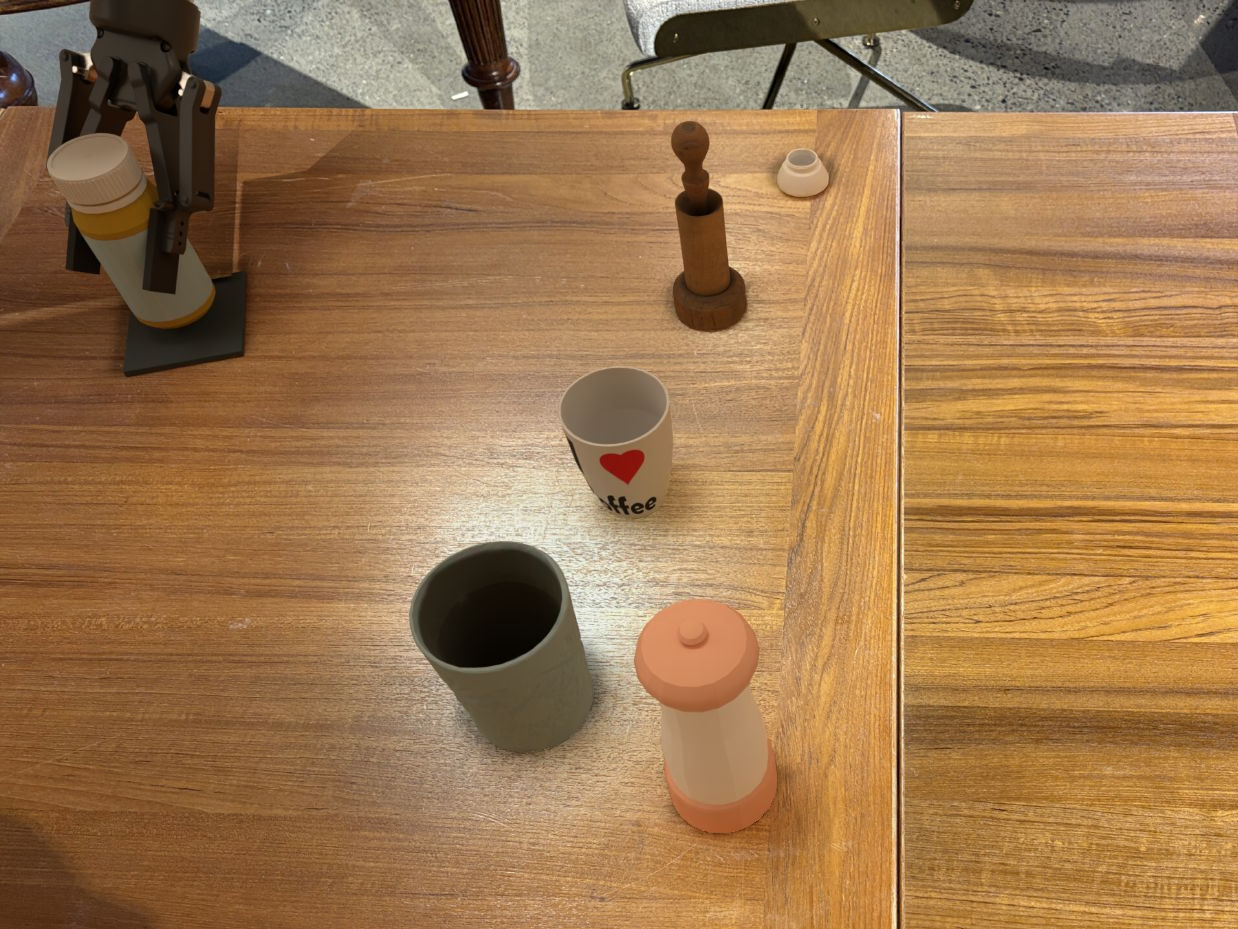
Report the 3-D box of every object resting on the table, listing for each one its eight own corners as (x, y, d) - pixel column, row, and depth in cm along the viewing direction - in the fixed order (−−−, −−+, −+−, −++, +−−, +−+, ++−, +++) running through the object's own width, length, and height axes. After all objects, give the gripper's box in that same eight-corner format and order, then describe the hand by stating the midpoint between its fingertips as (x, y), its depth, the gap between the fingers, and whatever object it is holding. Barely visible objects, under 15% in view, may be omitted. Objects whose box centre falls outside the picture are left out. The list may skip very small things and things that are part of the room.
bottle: (141, 342, 103) (43, 193, 91) (133, 292, 107) (37, 143, 94) (223, 318, 105) (138, 169, 92) (213, 270, 108) (129, 120, 96)
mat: (126, 376, 104) (122, 371, 103) (136, 294, 110) (132, 289, 110) (244, 355, 105) (241, 350, 105) (247, 275, 111) (244, 270, 111)
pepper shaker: (686, 729, 83) (646, 564, 67) (788, 747, 82) (771, 584, 66) (657, 823, 79) (606, 672, 63) (763, 843, 78) (739, 695, 63)
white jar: (768, 192, 117) (815, 205, 115) (767, 166, 114) (814, 179, 113) (791, 163, 119) (837, 176, 118) (790, 137, 117) (836, 149, 115)
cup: (566, 518, 94) (538, 430, 86) (611, 445, 98) (588, 355, 90) (659, 545, 92) (640, 458, 84) (701, 470, 97) (687, 380, 88)
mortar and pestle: (761, 312, 107) (746, 132, 92) (699, 342, 105) (673, 162, 90) (722, 272, 110) (702, 91, 95) (661, 300, 108) (630, 120, 93)
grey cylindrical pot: (561, 781, 81) (520, 691, 71) (432, 737, 83) (375, 643, 73) (626, 662, 86) (596, 562, 77) (503, 623, 89) (458, 522, 79)
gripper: (4, -50, 93) (-17, 251, 98) (218, -8, 89) (185, 303, 94) (86, -16, 100) (62, 262, 105) (288, 24, 96) (253, 312, 101)
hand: (120, 281), depth 99 cm, fingers closed on bottle, 7 cm apart
